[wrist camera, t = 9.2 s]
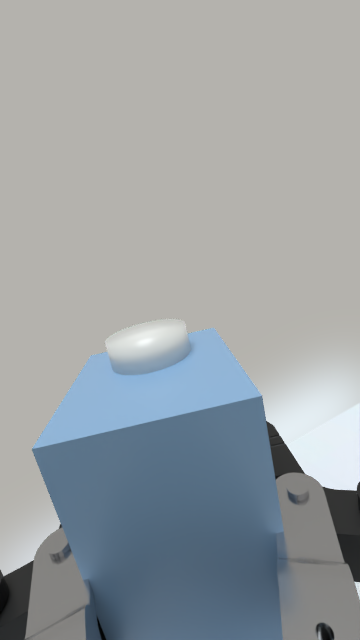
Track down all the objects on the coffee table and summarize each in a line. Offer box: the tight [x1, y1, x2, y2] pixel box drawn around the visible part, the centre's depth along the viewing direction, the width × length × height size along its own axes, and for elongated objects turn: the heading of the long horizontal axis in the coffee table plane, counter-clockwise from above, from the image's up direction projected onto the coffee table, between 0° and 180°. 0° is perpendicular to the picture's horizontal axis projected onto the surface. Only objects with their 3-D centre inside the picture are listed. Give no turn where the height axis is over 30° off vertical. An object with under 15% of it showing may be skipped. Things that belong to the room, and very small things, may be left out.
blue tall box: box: [32, 319, 284, 640], centre depth 9 cm, size 4×5×12 cm
